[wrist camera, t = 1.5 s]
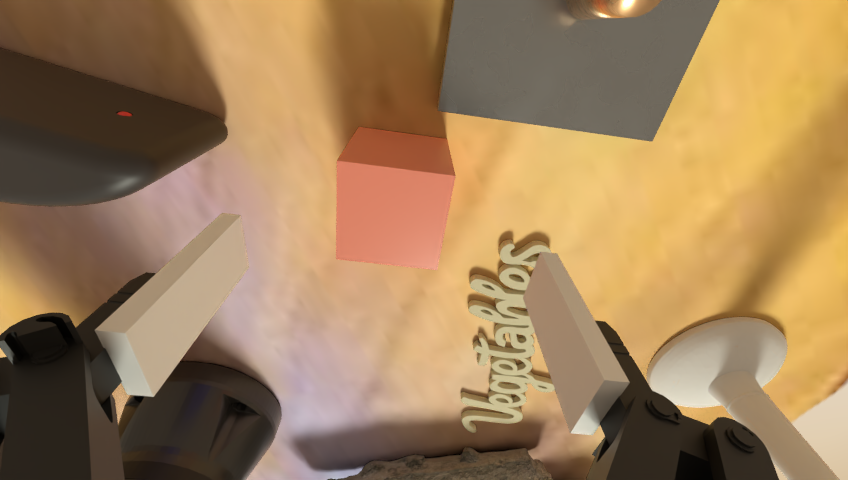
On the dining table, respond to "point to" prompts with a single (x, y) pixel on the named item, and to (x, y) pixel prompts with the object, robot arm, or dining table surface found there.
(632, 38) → the gray slab
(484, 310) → the decorative sign
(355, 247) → the salmon pink cube
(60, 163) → the leaning round-cornered charcoal block
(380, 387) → the dining table surface
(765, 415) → the candlestick
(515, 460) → the stone fragment
